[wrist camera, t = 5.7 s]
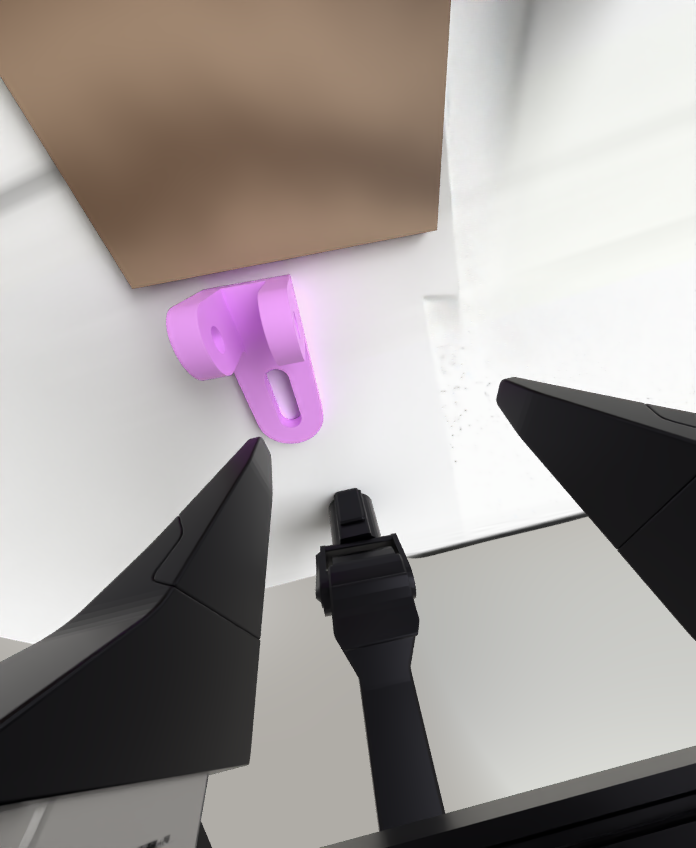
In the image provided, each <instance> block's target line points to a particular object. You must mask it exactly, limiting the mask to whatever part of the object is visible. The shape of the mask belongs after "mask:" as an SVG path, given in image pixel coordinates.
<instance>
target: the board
mask: <svg viewBox="0 0 696 848" xmlns="http://www.w3.org/2000/svg"><path fill="white" fill-rule="evenodd" d="M450 7H451V0H0V76H1V78H2V80H3V81H4V83H5V84H6V86H7V88H8V89H9V91H10V92H11V94H12V96H13V97H14V99H15V101H16V102H17V104H18V105H19V107H20V109H21V110H22V112H23V113H24V115H25V117H26V118H27V120H28V121H29V123H30V125H31V126H32V128H33V130H34V131H35V133H36V134H37V136H38V138H39V139H40V141H41V142H42V144H43V146H44V147H45V149H46V150H47V152H48V154H49V155H50V157H51V159H52V160H53V162H54V163H55V165H56V167H57V168H58V170H59V171H60V173H61V175H62V176H63V178H64V180H65V181H66V183H67V184H68V186H69V188H70V189H71V191H72V192H73V194H74V196H75V197H76V199H77V200H78V202H79V204H80V205H81V207H82V209H83V210H84V212H85V213H86V215H87V217H88V218H89V220H90V221H91V223H92V225H93V226H94V228H95V229H96V231H97V233H98V234H99V236H100V238H101V239H102V241H103V242H104V244H105V246H106V247H107V249H108V250H109V252H110V254H111V255H112V257H113V258H114V260H115V262H116V263H117V265H118V267H119V268H120V270H121V271H122V273H123V275H124V276H125V278H126V279H127V281H128V283H129V284H130V286H131V287H132V289H135V288H140V287H145V286H150V285H156V284H161V283H166V282H171V281H176V280H181V279H187V278H192V277H197V276H202V275H207V274H212V273H218V272H223V271H228V270H233V269H238V268H244V267H249V266H254V265H259V264H264V263H269V262H275V261H280V260H285V259H290V258H295V257H300V256H306V255H311V254H316V253H321V252H326V251H331V250H337V249H342V248H347V247H352V246H357V245H362V244H368V243H373V242H378V241H383V240H388V239H394V238H399V237H404V236H409V235H414V234H419V233H425V232H430V231H435V230H437V221H438V204H439V188H440V172H441V155H442V139H443V122H444V106H445V90H446V73H447V57H448V40H449V24H450Z"/></svg>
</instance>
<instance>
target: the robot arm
mask: <svg viewBox="0 0 696 848" xmlns="http://www.w3.org/2000/svg"><path fill="white" fill-rule="evenodd" d="M496 401H497V404H498V406H499V407H500V409H501V410H502V412H503V413H504V415H505V416H506V418H507V419H508V421H509V422H510V424H511V425H512V426H513V428H514V429H515V431H516V432H517V434H518V435H519V436H520V437H521V439H522V440H523V441H524V442H525V443H526V445H527V446H528V447H529V448H530V449H531V450H532V452H533V453H534V454H535V455H536V456H537V457H538V459H539V460H540V461H541V462H542V463H543V464H544V466H545V467H546V468H547V469H548V470H549V471H550V473H551V474H552V475H553V476H554V477H555V478H556V480H557V481H558V482H559V483H560V484H561V485H562V486H563V488H564V489H565V490H566V491H567V492H568V493H569V495H570V496H571V497H572V498H573V499H574V500H575V502H576V503H577V504H578V505H579V506H580V507H581V509H582V510H583V511H584V512H585V513H586V514H587V516H588V517H589V518H590V519H591V520H592V521H593V523H594V524H595V525H596V526H597V527H598V528H599V529H600V531H601V532H602V533H603V534H604V535H605V536H606V537H607V539H608V540H609V541H610V542H611V543H612V544H613V546H614V547H615V548H616V549H618V552H619V553H620V554H621V555H622V557H623V558H624V559H625V560H626V561H627V562H628V563H629V564H630V566H631V567H632V568H633V569H634V570H635V572H636V573H637V574H638V575H639V576H640V577H641V579H642V580H643V581H644V582H645V583H646V584H647V586H648V587H649V588H650V589H651V590H652V591H653V593H654V594H655V595H656V596H657V597H658V598H659V600H660V601H661V602H662V603H663V604H664V605H665V607H666V608H667V609H668V610H669V611H670V612H671V614H672V615H673V616H674V617H675V618H676V619H677V620H678V622H679V623H680V624H681V625H682V626H683V627H684V629H685V630H686V631H687V632H688V633H689V634H690V635H691V637H692V638H693V639H694V640H695V641H696V413H692V412H687V411H681V410H676V409H671V408H666V407H661V406H656V405H651V404H644V403H641V402H636V401H631V400H626V399H621V398H616V397H611V396H606V395H601V394H596V393H591V392H586V391H581V390H576V389H571V388H566V387H561V386H556V385H552V384H547V383H542V382H537V381H532V380H527V379H522V378H517V377H511V378H507V379H503V380H502V381H501V382H500V385H499V390H498V394H497V398H496ZM271 508H272V465H271V455H270V452H269V450H268V448H267V446H266V444H265V442H264V440H263V439H262V438H261V437H256V438H251V439H249V440H248V441H247V442H246V443H245V444H244V445H243V446H242V447H241V448H240V450H239V451H238V452H237V453H236V454H235V455H234V456H233V457H232V458H231V459H230V460H229V461H228V462H227V464H226V465H225V466H224V467H223V468H222V469H221V470H220V471H219V472H218V473H217V474H216V475H215V476H214V477H213V479H212V480H211V481H210V482H209V483H208V484H207V485H206V486H205V487H204V488H203V489H202V490H201V491H200V493H199V494H198V495H197V496H196V497H195V498H194V499H193V500H192V501H191V502H190V503H189V504H188V505H187V506H186V508H185V509H184V510H183V511H182V512H181V513H180V514H179V516H177V517H176V518H175V519H174V520H173V521H172V523H171V524H170V525H169V526H168V527H167V528H166V529H165V530H164V531H163V532H162V533H161V534H160V535H159V536H158V537H157V538H156V539H155V540H154V541H153V542H152V543H151V544H150V545H149V546H148V547H147V548H146V549H145V550H144V551H143V552H142V553H141V554H140V555H139V556H138V557H137V558H136V559H135V560H134V561H133V562H132V563H131V564H130V565H129V566H128V567H127V568H126V569H125V570H124V571H123V572H122V573H120V574H119V575H118V576H117V577H116V578H115V579H114V580H113V581H112V582H111V583H110V584H109V585H108V586H107V587H106V588H105V589H104V590H103V591H102V592H101V593H100V594H99V595H97V596H96V597H95V598H94V599H93V600H92V601H91V602H90V603H89V604H88V605H87V606H86V607H85V608H84V609H83V610H82V611H81V612H79V613H78V614H77V615H76V616H75V617H74V618H72V619H71V620H70V621H69V622H67V623H66V624H65V625H64V626H62V627H61V628H59V629H58V630H56V631H55V632H54V633H52V634H50V635H49V636H47V637H46V638H44V639H42V640H41V641H39V642H37V643H35V644H34V645H32V646H30V647H28V648H26V649H24V650H22V651H20V652H18V653H17V654H15V655H13V656H11V657H9V658H7V659H5V660H3V661H1V662H0V848H212V847H211V844H210V842H209V840H208V837H207V835H206V832H205V830H204V828H203V825H202V823H201V816H202V810H203V804H204V798H205V793H206V787H207V781H208V775H212V774H215V773H219V772H223V771H227V770H231V769H235V768H238V767H242V766H246V765H248V764H249V761H250V753H251V743H252V731H253V719H254V707H255V696H256V683H257V671H258V661H259V648H260V640H259V639H260V636H261V624H262V612H263V601H264V590H265V578H266V566H267V555H268V543H269V532H270V520H271ZM329 515H330V524H331V533H332V542H333V545H330V546H320V553H318V554H317V555H316V599H317V600H319V601H320V602H321V603H322V608H324V613H325V616H331V615H332V619H333V630H334V636H335V638H336V640H337V642H338V643H339V645H340V647H341V649H342V650H343V652H344V654H345V655H346V657H347V659H348V660H349V662H350V664H351V666H352V667H353V669H354V671H355V672H356V674H357V676H358V677H359V684H360V692H361V699H362V706H363V714H364V722H365V729H366V737H367V744H368V752H369V759H370V767H371V774H372V782H373V790H374V796H375V805H376V812H377V819H378V827H379V832H376V833H372V834H369V835H365V836H362V837H358V838H354V839H350V840H347V841H343V842H339V843H336V844H332V845H328V846H325V847H321V848H696V746H693V747H689V748H686V749H682V750H678V751H675V752H671V753H668V754H664V755H660V756H656V757H652V758H649V759H645V760H641V761H638V762H634V763H630V764H627V765H623V766H619V767H616V768H612V769H608V770H604V771H601V772H597V773H593V774H590V775H586V776H582V777H579V778H575V779H572V780H568V781H564V782H561V783H557V784H553V785H549V786H546V787H542V788H538V789H534V790H531V791H527V792H524V793H520V794H516V795H512V796H509V797H506V798H502V799H498V800H494V801H490V802H487V803H483V804H479V805H476V806H472V807H468V808H465V809H461V810H457V811H453V812H450V813H447V814H445V810H444V806H443V803H442V798H441V794H440V790H439V785H438V782H437V777H436V773H435V769H434V765H433V761H432V756H431V752H430V748H429V744H428V739H427V735H426V731H425V727H424V723H423V719H422V714H421V711H420V706H419V702H418V698H417V694H416V689H415V685H414V681H413V677H412V672H411V667H410V666H411V660H412V654H413V648H414V642H415V636H417V635H418V629H419V617H418V613H417V610H416V607H415V603H414V598H416V586H415V581H414V577H413V573H412V570H411V567H410V564H409V562H408V560H407V557H406V555H405V553H404V551H403V548H402V546H401V544H400V542H399V539H398V537H397V535H396V533H394V534H391V535H387V536H382V537H381V534H380V530H379V527H378V523H377V519H376V516H375V512H374V508H373V505H372V501H371V499H370V498H369V497H368V496H367V495H365V494H362V493H361V490H358V489H357V488H354V489H350V490H345V491H341V492H337V493H336V495H335V496H334V500H333V501H332V503H331V504H330V506H329Z"/></svg>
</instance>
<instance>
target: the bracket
mask: <svg viewBox="0 0 696 848" xmlns="http://www.w3.org/2000/svg"><path fill="white" fill-rule="evenodd" d="M166 326H167V332H168V336H169V340H170V343H171V345H172V348H173V350H174V352H175V354H176V356H177V358H178V360H179V361H180V363H181V364H182V366H183V367H184V368H185V369H186V371H187V372H188V373H189V374H190V375H192V376H193V377H194V378H196V379H198V380H201V381H204V380H209V379H214V378H219V377H225V376H230V375H232V374H233V372H234V374H235V376H236V379H237V381H238V383H239V385H240V387H241V389H242V391H243V394H244V396H245V398H246V400H247V402H248V404H249V407H250V409H251V411H252V413H253V415H254V417H255V419H256V422H257V424H258V426H259V428H260V429H261V431H262V432H263V433H264V434H265V435H266V436H268V437H269V438H271V439H273V440H275V441H278V442H282V443H299V442H303V441H306V440H308V439H310V438H312V437H313V436H314V435H315V434H316V433H317V432H318V431H319V430H320V428H321V426H322V423H323V411H322V404H321V400H320V396H319V392H318V388H317V384H316V380H315V376H314V371H313V367H312V363H311V359H310V355H309V351H308V347H307V342H306V338H305V334H304V330H303V326H302V322H301V318H300V314H299V309H298V305H297V301H296V297H295V293H294V289H293V285H292V281H291V276H290V274H288V275H283V276H277V277H271V278H266V279H260V280H255V281H249V282H243V283H238V284H232V285H226V286H221V287H215V288H210V289H204V290H202V291H200V292H198V293H196V294H195V295H193V296H191V297H189V298H187V299H186V300H184V301H182V302H180V303H178V304H177V305H175V306H173V307H171V308H170V309H169V310H168V312H167V317H166ZM274 369H278V370H282V371H284V372H285V373H286V374H287V375H288V377H289V379H290V382H291V386H292V389H293V392H294V395H295V398H296V401H297V405H298V408H299V411H300V414H301V415H300V416H299V417H298V418H296V419H287V418H285V417H283V416H282V414H281V412H280V410H279V407H278V404H277V402H276V399H275V396H274V394H273V391H272V388H271V386H270V383H269V380H268V378H267V375H266V373H267V372H269V371H270V370H274Z"/></svg>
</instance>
